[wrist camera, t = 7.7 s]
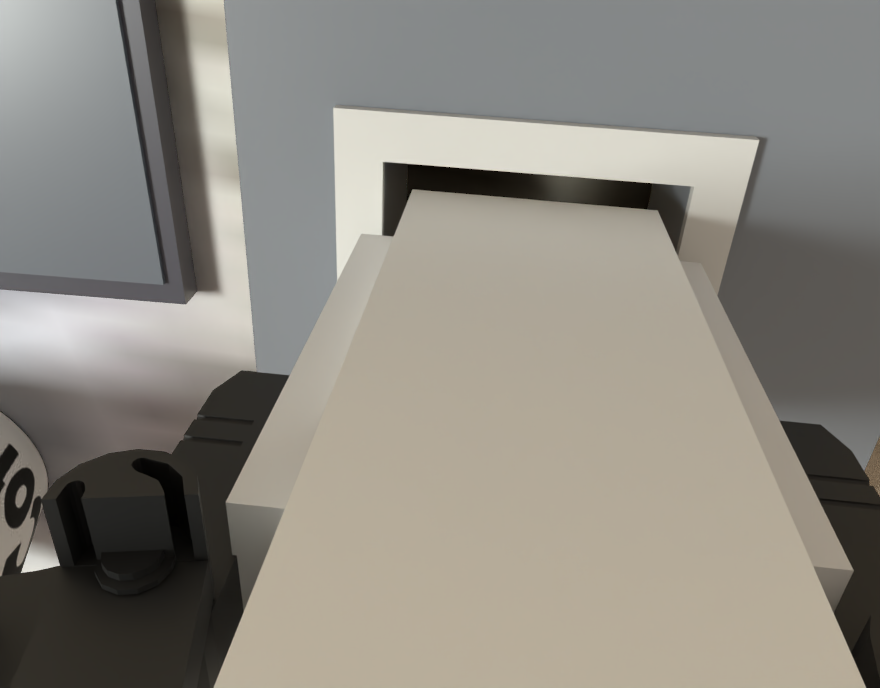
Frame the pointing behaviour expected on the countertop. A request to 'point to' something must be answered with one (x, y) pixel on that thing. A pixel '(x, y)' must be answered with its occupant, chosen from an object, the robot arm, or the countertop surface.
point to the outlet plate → (585, 153)
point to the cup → (18, 495)
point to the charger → (535, 480)
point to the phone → (89, 154)
